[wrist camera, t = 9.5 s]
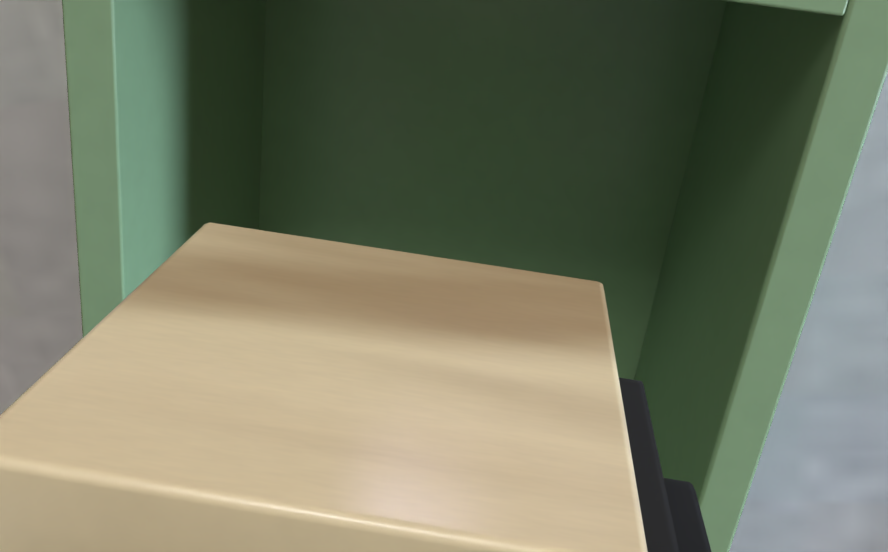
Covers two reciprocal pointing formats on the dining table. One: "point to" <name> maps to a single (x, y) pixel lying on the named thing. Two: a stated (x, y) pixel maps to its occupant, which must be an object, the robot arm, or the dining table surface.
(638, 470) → the robot arm
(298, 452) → the block
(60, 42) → the dining table surface
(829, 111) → the chest
